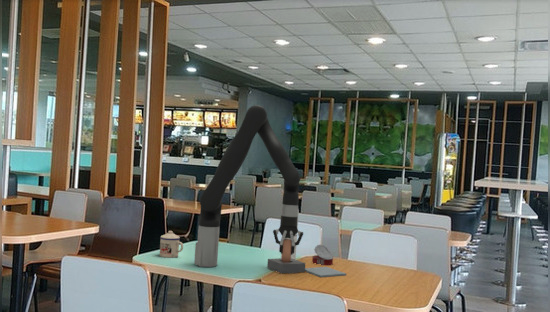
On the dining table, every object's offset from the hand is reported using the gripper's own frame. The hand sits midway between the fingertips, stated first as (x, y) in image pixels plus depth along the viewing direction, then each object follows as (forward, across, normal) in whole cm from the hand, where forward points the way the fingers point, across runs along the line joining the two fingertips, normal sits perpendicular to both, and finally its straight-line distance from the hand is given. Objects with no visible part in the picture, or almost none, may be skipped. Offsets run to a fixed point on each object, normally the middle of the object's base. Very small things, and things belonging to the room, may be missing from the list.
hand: (286, 253), depth 223 cm
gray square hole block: (+7, 0, 0) cm, 7 cm away
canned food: (+7, +18, +23) cm, 30 cm away
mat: (+7, +17, 0) cm, 18 cm away
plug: (+6, 0, 0) cm, 6 cm away
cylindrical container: (+7, +1, +22) cm, 23 cm away
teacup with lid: (+8, -54, +12) cm, 56 cm away
